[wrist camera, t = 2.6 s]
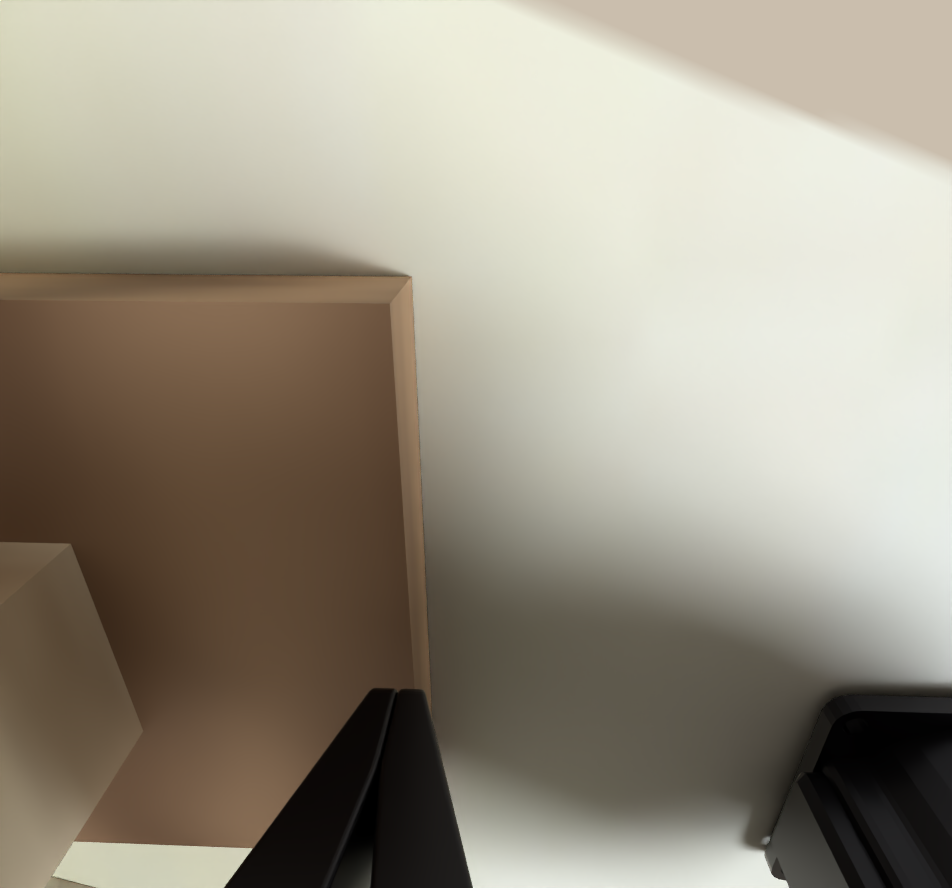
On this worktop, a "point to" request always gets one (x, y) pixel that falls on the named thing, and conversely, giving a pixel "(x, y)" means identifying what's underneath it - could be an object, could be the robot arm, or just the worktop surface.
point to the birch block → (53, 710)
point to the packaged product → (63, 884)
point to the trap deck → (223, 518)
